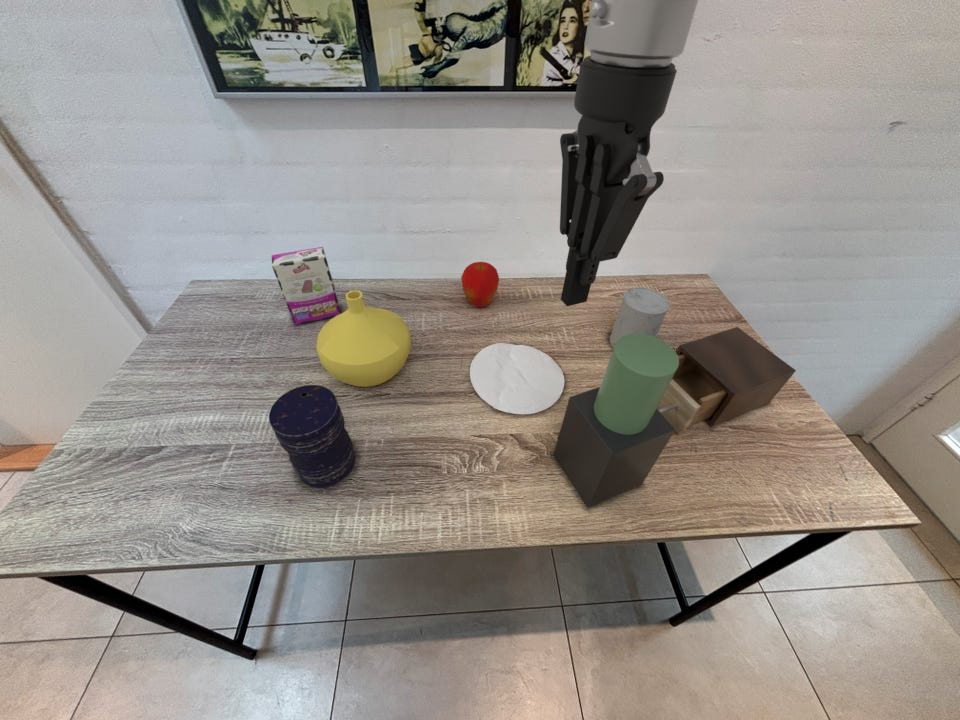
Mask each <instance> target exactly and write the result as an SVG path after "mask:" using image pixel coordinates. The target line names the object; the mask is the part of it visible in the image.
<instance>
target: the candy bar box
mask: <svg viewBox="0 0 960 720" xmlns="http://www.w3.org/2000/svg"><path fill="white" fill-rule="evenodd" d="M271 267H272V270H273V273H274V275H275V277H276V280H277V283H278V285H279V288H280V291H281V293H282V296H283V298H284V301H285V303H286V306H287V309H288V311H289V313H290V316H291V319H292V321H293V324H294V325H295V326H297V325H304V324H308V323H312V322H313V323H314V322H317V321H322V320H327V319H332V318H334V317H335V316H337V315H339V314H341V313H342V310H341V306H340V305H341V304H340V301H339V298H338V295H337V290H336V288H335V283H334V280H333V277H332V273H331V269H330V265H329V263H328V259H327V256H326V253H325V248H324V247H323V246H319V247H318V246H317V247H312V248H306V249H300V250H295V251H288V252H282V253H278V254H272V255H271Z"/></svg>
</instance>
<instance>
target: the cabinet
mask: <svg viewBox="0 0 960 720" xmlns="http://www.w3.org/2000/svg"><path fill="white" fill-rule="evenodd" d="M675 352H676V353H677V355H678V356H679V355H682V354H685V355H686V356H687V357H688V358H689V359H690V360H691V361H692V362H694V363H695V364H696V365H697V366H698V367H699V368H700V369H701V370H703V371H704V372H705V373H706V374H707V375H708V376H709V377H710V378H712V379H713V380H714V381H715V382H716V383H717V384H718V385H719V386H721V387H722V388H723V389H724V390H725V391H726V392H727V393H728V394H729V395H728V396H727V397H726V399H725V400H724V402H723V403H722V405H721V406H720V408H719V409H718V410H717V412H716V413H715V415H714V416H712V417H710V418H707V419H705V420H704V422H705V423H707V425H708V426H709V427H710V428H713V427H715V426H718V425H720V424H723V423H726V422H728V421H731V420H732V419H735V418H737V417H739V416H742V415H745V414H747V413H750V412H752V411H754V410H757V409H760V408H762V407H764V406H766V405H769V404H770V403H771V402H772V401H773V399H775V397H776V396H777V394H778V393H779V392H780V391H781V390H782V389H783V387H784V386H785V385H786V384H787V382H788V381H789V380H790V379H791V378H792V376H793V375H794V374H795V372H796V371H797V370H796V369H795V368H793V367H792V366H790V365H789V364H788V363H787V362H785V361H784V360H783V359H781V358H780V357H779V356H777V355H776V354H775V353H773V352H772V351H771V350H769V349H768V348H767V347H766V346H764V345H763V344H762V343H760V342H759V341H757V340H756V339H754V337H752V336H750V335H749V334H748V333H747V332H745V331H744V330H742V329H741V328H740V327H738V326H735V327H732V328H729V329H726V330H723V331H719V332H717V333H714V334H710V335H707V336H704V337H701V338H698V339H695V340H692V341H689V342H686V343H682V344H680V345H678V347H677V350H675Z"/></svg>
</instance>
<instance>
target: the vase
mask: <svg viewBox="0 0 960 720" xmlns="http://www.w3.org/2000/svg"><path fill="white" fill-rule="evenodd" d="M345 301H346V303H347V310H345V311H343V312H341V314H339V315H337V316H335V317H331V318H330V319H329V320H328V321H327V322H326V323H325V324H324V325H323V326H322V327H321V329H320V331H319V333H318V334H317V339H316V348H315V349H316V352H317V355H318V358H319V361H320V364H321V365H322V367H323V368H324V369H325V370H326V371H327V372H328V373H329V374H330V375H332V376H333V378H335V379H336V380H339V382H342V383H344V384H347V385H351V386H355V387H359V388H360V387H362V388H368V387H374V386H378V385H381V384H384V383H385V382H387V381H390V380H391V379H392V378H393V377H394V376H395V375H397V374H398V373H399V372H400V371H401V370H402V368H403V367H404V365H405V364H406V361H407V360H408V357H409V354H410V351H411V349H412V348H411V347H412V343H411V332H410V329H409V328H408V326H407V324H406V322H405V321H404V319H403V318H402V317H400V316H399V315H398V314H397V313H395V312H393V311H390V310H388V309H384V308H380V307H371V306H366V305H365V300H364V296H363V292H361V291H360V290H350V291H348V292H346V294H345Z"/></svg>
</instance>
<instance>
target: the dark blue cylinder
mask: <svg viewBox="0 0 960 720" xmlns="http://www.w3.org/2000/svg"><path fill="white" fill-rule="evenodd" d="M268 421H269V425H270V426H271V428H272V430H273V433H274V435H275V437H276V439H277V441H278V443H279V444H280V446H281V448H282V449H283V450H284V452H285V451H286V452H287V454H288V457H289V461H290V463H291V466H292V468H293V470H294V471H295V473H296V474H297V476H298V477H299V479H300V481H301V482H302V483H303V484H304V485H306V486H307V487H309V488H313V489H318V490H319V489H321V490H322V489H328V488H329V489H330V488H331V487H335V486H336V485H337V486H338V485H339V484H341V483H342V482H344V481H345V480H346V479H347V478H348V477H349V476H350V474H351V473H352V472H353V470H354V467H355V465H356V462H357V457H356V452H355V450H354V444H353V442H352V438H351V437H350V434H349V432H348V431H347V429H346V428H345V426H346V425H345V424H346V423H345V418H344V414H343V411H342V408H341V406H340V405H339V401H338V399H337V396H336V394H335V393H334V391H332V390H331V389H330V388H328V387H326V386H322V385H319V384H307V385H301V386H298V387H294V388H292V389H290V390H288V391H286V392H285V393H283V394H281V396H279V397H278V398H277V400H275V402H274V403H273V404H272V406H271V408H270V410H269V414H268Z"/></svg>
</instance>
